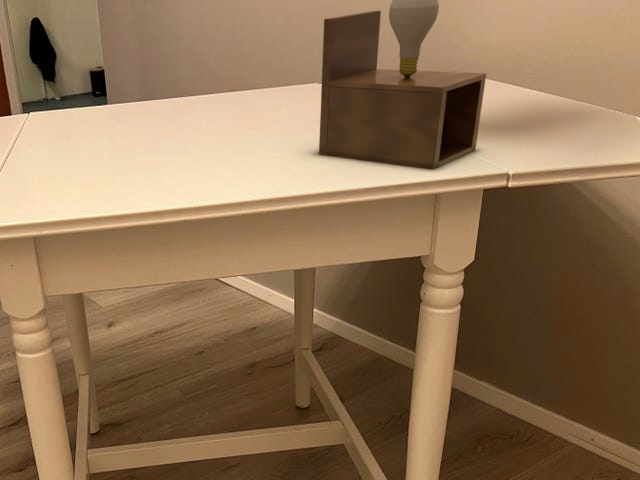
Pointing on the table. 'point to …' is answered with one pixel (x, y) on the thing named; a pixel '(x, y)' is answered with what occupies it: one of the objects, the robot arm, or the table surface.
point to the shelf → (391, 102)
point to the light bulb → (411, 29)
